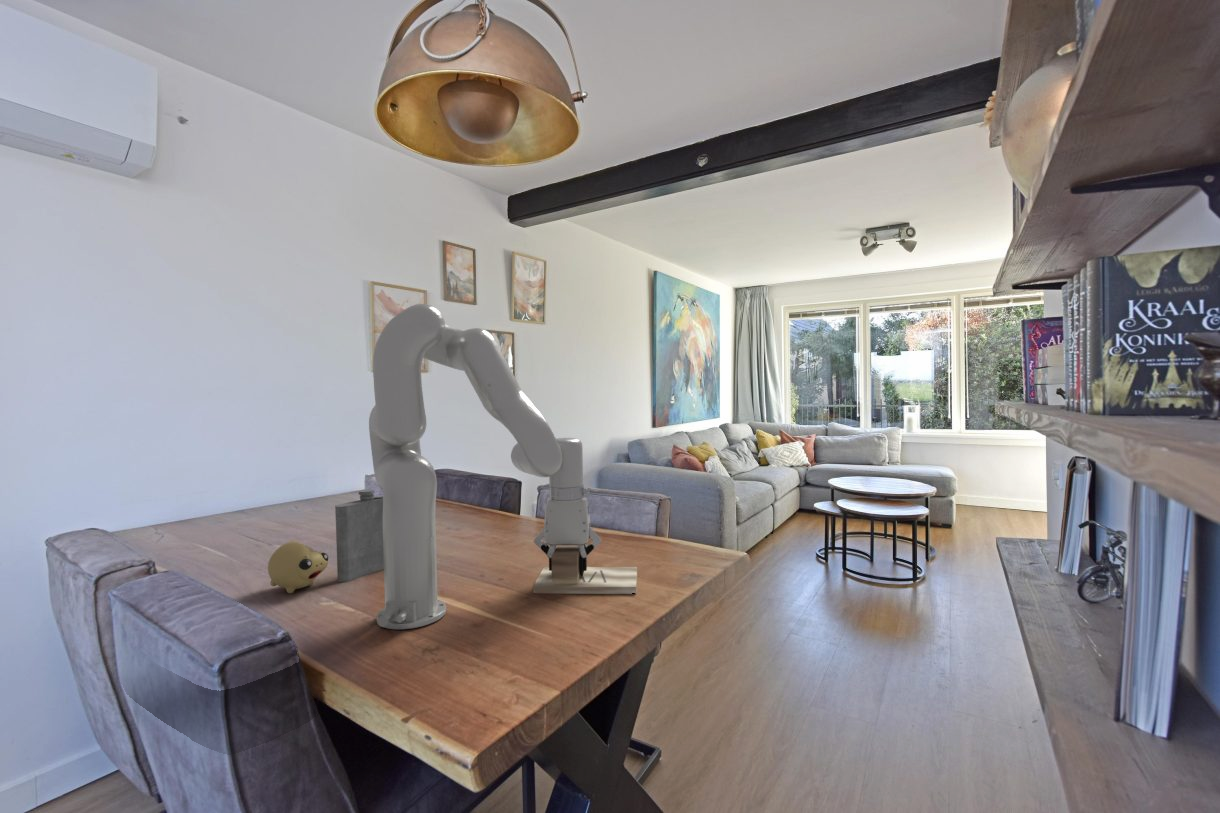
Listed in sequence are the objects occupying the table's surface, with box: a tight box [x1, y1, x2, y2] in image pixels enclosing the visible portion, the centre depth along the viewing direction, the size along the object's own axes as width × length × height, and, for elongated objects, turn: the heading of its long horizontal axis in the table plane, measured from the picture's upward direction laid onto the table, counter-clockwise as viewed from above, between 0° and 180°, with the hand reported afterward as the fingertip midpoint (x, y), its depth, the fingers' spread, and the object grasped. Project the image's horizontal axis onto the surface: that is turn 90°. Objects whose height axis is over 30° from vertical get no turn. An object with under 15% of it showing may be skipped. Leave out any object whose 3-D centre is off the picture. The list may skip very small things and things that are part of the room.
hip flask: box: [335, 488, 384, 583], centre depth 133 cm, size 16×4×20 cm, turn 145°
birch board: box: [532, 566, 638, 595], centre depth 123 cm, size 13×22×2 cm, turn 86°
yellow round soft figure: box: [267, 540, 329, 594], centre depth 122 cm, size 10×12×11 cm
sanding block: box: [551, 545, 581, 584], centre depth 123 cm, size 10×6×6 cm, turn 176°
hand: (568, 572), depth 123 cm, fingers closed on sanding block, 5 cm apart
